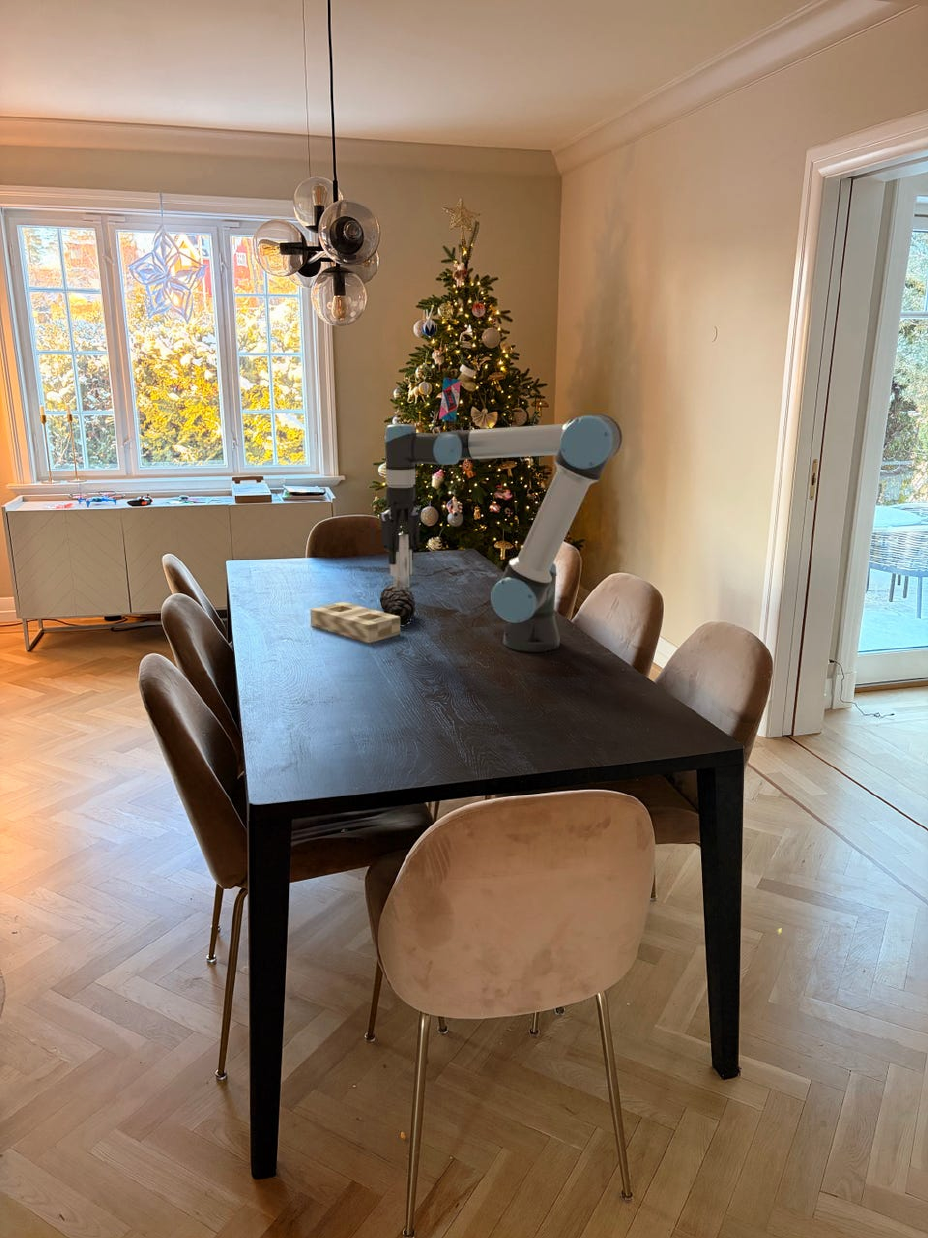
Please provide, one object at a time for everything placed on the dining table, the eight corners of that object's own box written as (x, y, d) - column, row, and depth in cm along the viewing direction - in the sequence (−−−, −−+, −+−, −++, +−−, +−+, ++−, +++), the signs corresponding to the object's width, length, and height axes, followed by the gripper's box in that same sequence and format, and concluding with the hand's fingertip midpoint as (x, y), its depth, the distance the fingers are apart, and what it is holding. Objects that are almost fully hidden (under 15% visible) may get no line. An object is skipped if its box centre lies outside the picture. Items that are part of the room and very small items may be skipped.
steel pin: (412, 586, 236) (411, 533, 233) (401, 588, 233) (400, 535, 230) (401, 583, 239) (401, 532, 235) (390, 586, 236) (390, 533, 232)
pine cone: (390, 629, 253) (390, 595, 251) (375, 613, 270) (375, 581, 267) (425, 626, 257) (425, 592, 254) (409, 611, 273) (409, 579, 270)
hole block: (400, 634, 249) (400, 616, 247) (368, 643, 240) (368, 625, 238) (342, 618, 264) (342, 601, 262) (310, 626, 255) (310, 609, 253)
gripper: (412, 481, 238) (413, 567, 244) (366, 487, 225) (367, 577, 231) (433, 484, 233) (433, 571, 239) (386, 489, 221) (388, 582, 227)
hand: (401, 574), depth 235 cm, fingers closed on steel pin, 4 cm apart
